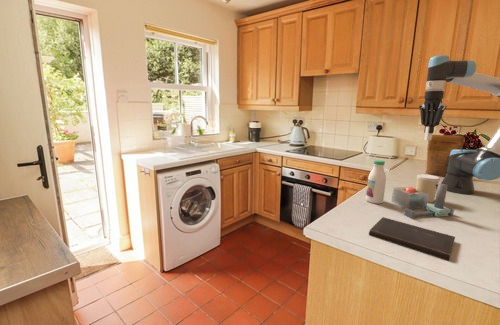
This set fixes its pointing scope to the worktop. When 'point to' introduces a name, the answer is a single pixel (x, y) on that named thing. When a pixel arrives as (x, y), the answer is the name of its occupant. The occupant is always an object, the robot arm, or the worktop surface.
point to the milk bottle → (376, 183)
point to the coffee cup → (427, 185)
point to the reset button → (410, 189)
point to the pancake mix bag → (441, 153)
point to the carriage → (440, 202)
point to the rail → (423, 213)
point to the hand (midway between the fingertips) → (427, 139)
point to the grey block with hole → (410, 198)
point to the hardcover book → (414, 237)
